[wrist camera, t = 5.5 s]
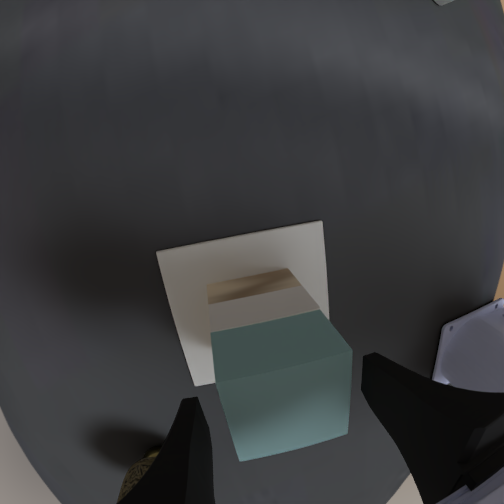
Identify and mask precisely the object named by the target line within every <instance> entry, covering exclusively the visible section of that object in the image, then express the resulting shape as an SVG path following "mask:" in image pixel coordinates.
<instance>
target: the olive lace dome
mask: <svg viewBox="0 0 504 504" xmlns="http://www.w3.org/2000/svg"><path fill="white" fill-rule="evenodd" d="M161 447H162V446H156V447H152V448H150V449H149V450H147V451H146V453H145V454H144V456H143V459H141V460H139V461H137V462H136V463H135V464H133V465H132V466H131V467H130V469H129V470H128V472H127V474H126V476H125V478H124V481H123V484H122V487H121V490H120V494H119V497H118V501H117V503H118V502H119V501H120V500H121V499H122V498H123V497H124V496H125V495H126V494H127V493H128V492H129V491H130V490H131V489H132V488H133V487H134V486H135V485H136V484H137V482H138V481H139V480H140V479H141V478H142V476H143V475H144V474H145V472H146V471H147V470H148V468H149V467H150V465H151V464H152V462H153V461H154V459H155V458H156V456H157V454H158V453H159V451H160V449H161Z"/></svg>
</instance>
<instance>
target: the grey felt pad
mask: <svg viewBox="0 0 504 504" xmlns="http://www.w3.org/2000/svg"><path fill="white" fill-rule="evenodd" d="M156 254H157V258H158V262H159V266H160V270H161V274H162V278H163V282H164V286H165V290H166V293H167V297H168V301H169V304H170V308H171V311H172V315H173V318H174V322H175V325H176V329H177V332H178V335H179V339H180V342H181V345H182V348H183V351H184V355H185V358H186V361H187V364H188V367H189V370H190V373H191V376H192V379H193V382H194V385H195V386H200V385H206V384H212V383H215V374H214V364H213V355H212V345H211V334H210V333H211V328H210V317H209V306H208V295H207V284H212V283H217V282H222V281H227V280H232V279H237V278H242V277H247V276H252V275H257V274H262V273H267V272H272V271H277V270H282V269H287V268H288V269H289V270H290V271H291V273H292V274H293V275H294V276H295V277H296V279H297V280H298V281H299V282H300V284H301V285H302V286H303V287H304V288H305V289H306V291H307V292H308V293H309V294H310V296H311V297H312V298H313V299H314V300H315V302H316V303H317V304H318V305H319V307H320V308H321V311H322V312H323V314H324V315H325V316H326V317H327V319H328V320H329V303H328V286H327V271H326V258H325V246H324V234H323V224H322V221H321V220H319V221H313V222H308V223H302V224H297V225H291V226H286V227H280V228H275V229H269V230H264V231H259V232H253V233H248V234H243V235H237V236H232V237H227V238H222V239H216V240H211V241H206V242H201V243H196V244H191V245H186V246H180V247H175V248H170V249H165V250H160V251H157V252H156Z"/></svg>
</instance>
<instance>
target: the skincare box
mask: <svg viewBox="0 0 504 504" xmlns="http://www.w3.org/2000/svg"><path fill="white" fill-rule="evenodd" d="M434 1H435V2H436V3H437V4H438V5H440V6H442V5H444V4H447V3H449V2H452V1H454V0H434Z"/></svg>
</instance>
